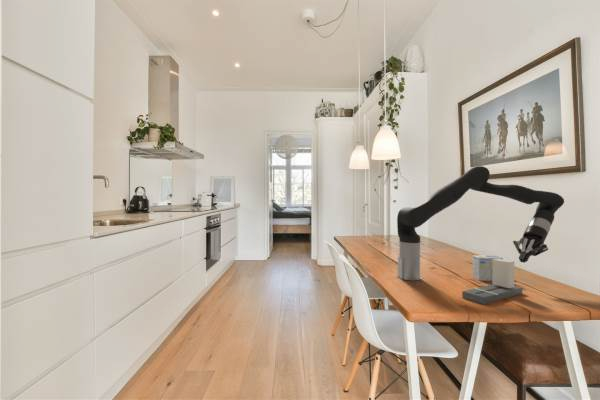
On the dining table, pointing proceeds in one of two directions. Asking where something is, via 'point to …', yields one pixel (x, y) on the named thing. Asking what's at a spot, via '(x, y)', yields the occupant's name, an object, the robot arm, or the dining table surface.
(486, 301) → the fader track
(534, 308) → the dining table surface
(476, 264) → the light bulb box
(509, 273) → the cap
